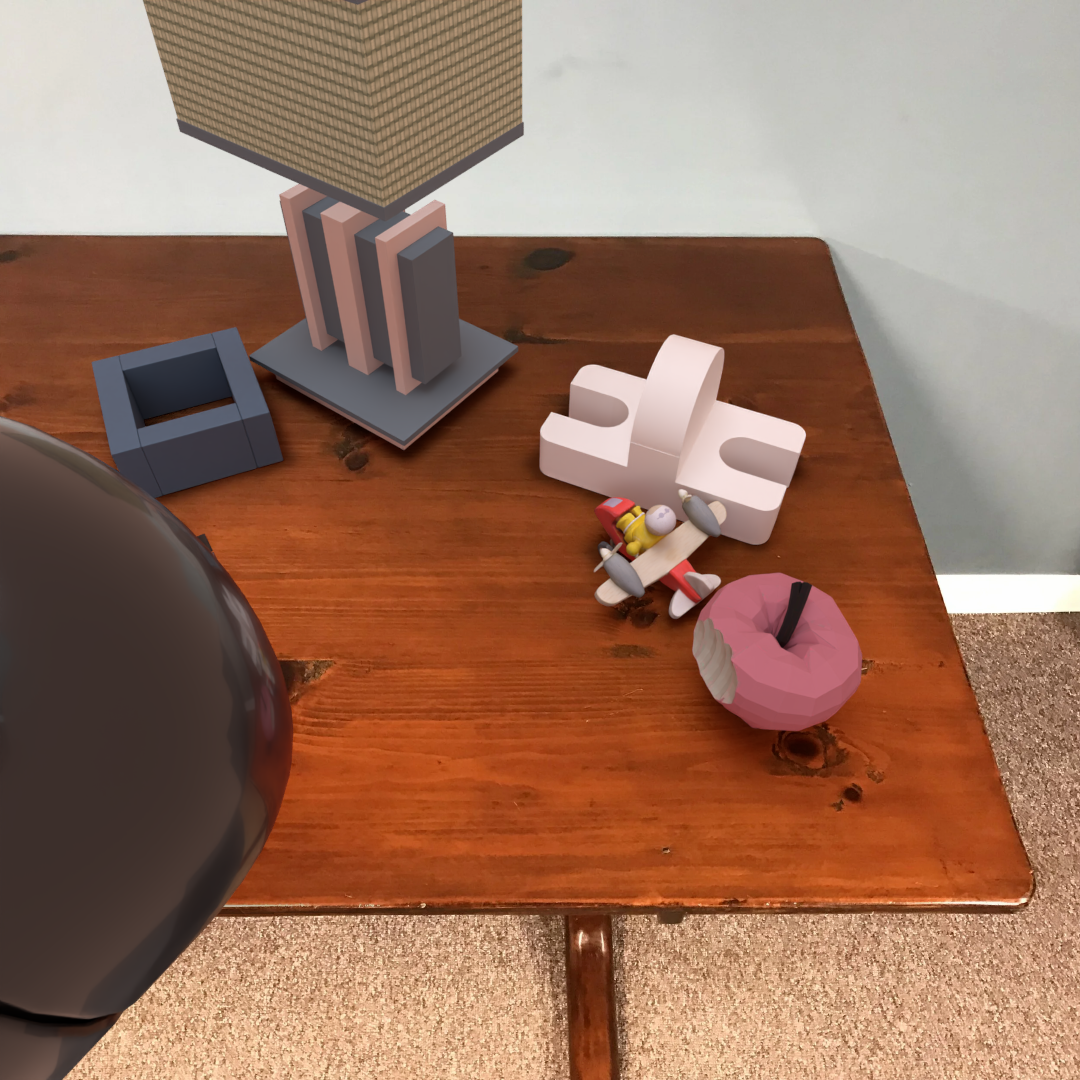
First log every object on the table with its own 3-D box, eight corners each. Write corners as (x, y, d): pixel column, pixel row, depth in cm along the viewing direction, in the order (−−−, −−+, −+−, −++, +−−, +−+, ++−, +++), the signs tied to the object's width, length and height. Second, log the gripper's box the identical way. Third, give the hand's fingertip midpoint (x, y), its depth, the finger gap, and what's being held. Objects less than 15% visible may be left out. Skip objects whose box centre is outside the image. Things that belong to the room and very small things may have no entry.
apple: (667, 649, 58) (689, 551, 50) (792, 626, 59) (832, 528, 52) (716, 785, 52) (749, 698, 44) (855, 757, 53) (910, 667, 46)
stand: (135, 504, 65) (110, 454, 62) (114, 411, 72) (91, 361, 68) (283, 460, 68) (269, 411, 65) (251, 375, 75) (236, 326, 71)
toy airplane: (592, 524, 65) (598, 461, 60) (718, 532, 64) (734, 469, 60) (588, 628, 59) (594, 567, 54) (726, 637, 59) (745, 577, 54)
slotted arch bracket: (582, 396, 74) (590, 283, 66) (798, 462, 69) (835, 349, 61) (534, 471, 68) (535, 358, 60) (764, 549, 63) (800, 437, 55)
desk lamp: (525, 374, 75) (526, -82, 50) (415, 469, 68) (351, -9, 43) (366, 296, 82) (296, -139, 57) (249, 376, 75) (111, -85, 50)
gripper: (195, 445, 26) (172, 483, 42) (-401, 680, 21) (-176, 624, 36) (305, 670, 28) (244, 626, 43) (-231, 947, 22) (-82, 784, 37)
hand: (51, 625), depth 40 cm, fingers closed on supplement bottle, 6 cm apart
